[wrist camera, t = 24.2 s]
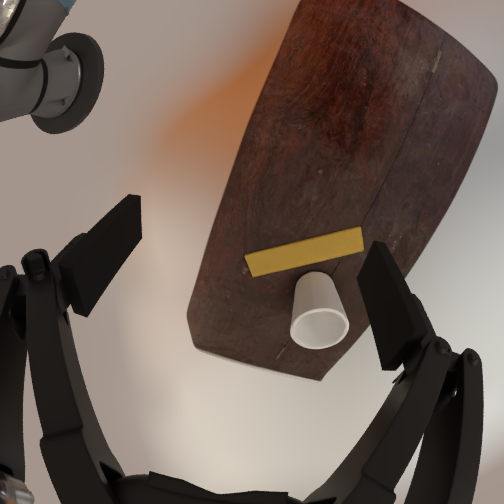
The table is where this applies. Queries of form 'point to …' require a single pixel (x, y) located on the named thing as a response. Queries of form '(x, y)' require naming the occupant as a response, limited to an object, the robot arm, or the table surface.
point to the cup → (317, 312)
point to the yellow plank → (305, 251)
